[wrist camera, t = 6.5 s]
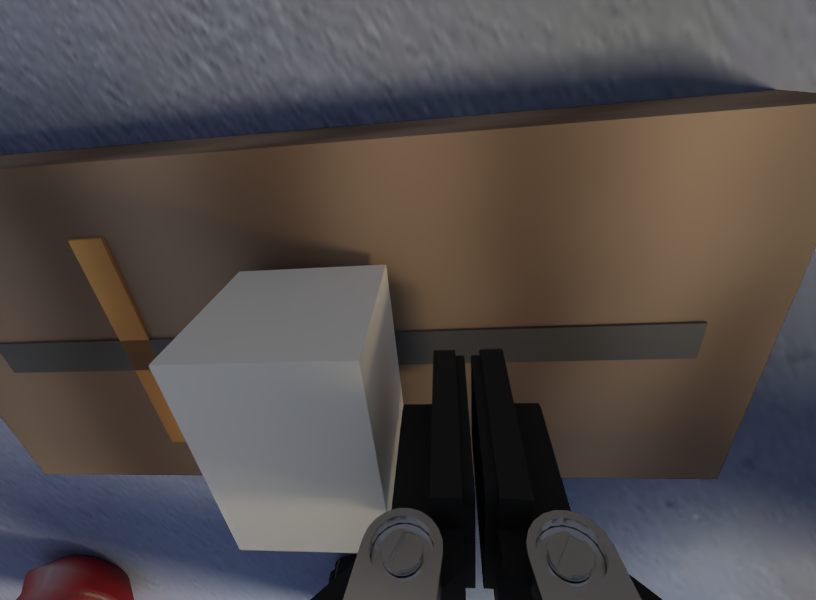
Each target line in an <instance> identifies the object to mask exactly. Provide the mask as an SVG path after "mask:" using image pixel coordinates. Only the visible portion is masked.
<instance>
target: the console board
mask: <svg viewBox="0 0 816 600" xmlns="http://www.w3.org/2000/svg"><path fill="white" fill-rule="evenodd" d="M815 247H816V93H810V92H798V91H787V90H769V91H757V92H745V93H734V94H722V95H710V96H698V97H686V98H674V99H662V100H651V101H639V102H627V103H615V104H603V105H591V106H580V107H568V108H556V109H544V110H532V111H520V112H509V113H497V114H485V115H473V116H461V117H449V118H437V119H426V120H414V121H402V122H390V123H378V124H366V125H355V126H343V127H331V128H319V129H307V130H295V131H284V132H272V133H260V134H248V135H236V136H224V137H212V138H201V139H189V140H177V141H165V142H153V143H141V144H130V145H118V146H106V147H94V148H82V149H70V150H59V151H47V152H35V153H23V154H11V155H0V417H1V418H2V419H3V420H4V422H5V423H6V424H7V426H8V427H9V428H10V429H11V431H12V432H13V433H14V435H15V436H16V437H17V438H18V440H19V441H20V442H21V444H22V445H23V446H24V448H25V449H26V450H27V451H28V453H29V454H30V455H31V457H32V458H33V459H34V460H35V462H36V463H37V464H38V466H39V467H40V468H41V469H42V471H43V472H44V473H45V474H113V475H202V473H201V471H200V469H199V467H198V465H197V463H196V461H195V458H194V456H193V454H192V452H191V450H190V448H189V446H188V444H187V442H186V440H185V438H184V436H183V434H182V432H181V430H180V428H179V426H178V424H177V422H176V420H175V418H174V416H173V414H172V412H171V410H170V408H169V406H168V404H167V402H166V400H165V398H164V396H163V394H162V392H161V390H160V388H159V386H158V384H157V382H156V380H155V378H154V376H153V374H152V372H151V370H150V368H149V366H148V365H149V364H150V363H151V362H152V361H153V360H154V359H155V358H156V357H157V356H158V355H159V354H160V353H161V352H162V351H163V350H164V349H165V348H166V347H167V346H168V345H169V344H170V343H171V342H172V341H173V340H174V339H175V337H176V336H177V335H178V334H179V333H180V332H181V331H182V330H183V329H184V328H185V327H186V326H187V325H188V324H189V323H190V322H191V321H192V320H193V319H194V318H195V317H196V316H197V315H198V314H199V313H200V312H201V311H202V310H203V309H204V308H205V307H206V306H207V304H208V303H209V302H210V301H211V300H212V299H213V298H214V297H215V296H216V295H217V294H218V293H219V292H220V291H221V290H222V289H223V288H224V287H225V286H226V285H227V284H228V283H229V282H230V281H231V280H232V279H233V278H234V277H235V276H236V275H237V274H238V272H240V271H261V270H282V269H303V268H324V267H345V266H366V265H386V267H387V276H388V284H389V292H390V300H391V308H392V316H393V324H394V333H395V341H396V349H397V357H398V365H399V373H400V381H401V390H402V398H403V406H404V404H432V384H433V351H434V350H455V354H456V356H461V355H464V358H465V371H466V384H467V397H468V410H469V423H470V436H471V448H472V419H471V355H479V350H480V349H503V353H504V358H505V363H506V367H507V372H508V377H509V382H510V386H511V391H512V396H513V400H514V403H539V405H540V407H541V409H542V412H543V416H544V419H545V423H546V426H547V430H548V433H549V437H550V440H551V444H552V447H553V451H554V454H555V458H556V461H557V465H558V468H559V472H560V475H561V478H647V479H717V478H718V476H719V473H720V471H721V469H722V466H723V464H724V462H725V459H726V457H727V455H728V452H729V450H730V448H731V445H732V443H733V440H734V438H735V436H736V433H737V431H738V429H739V426H740V424H741V422H742V419H743V417H744V414H745V412H746V410H747V407H748V405H749V403H750V400H751V398H752V396H753V393H754V391H755V389H756V386H757V384H758V381H759V379H760V377H761V374H762V372H763V370H764V367H765V365H766V363H767V360H768V358H769V356H770V353H771V351H772V348H773V346H774V344H775V341H776V339H777V337H778V334H779V332H780V330H781V327H782V325H783V323H784V320H785V318H786V315H787V313H788V311H789V308H790V306H791V304H792V301H793V299H794V297H795V294H796V292H797V290H798V287H799V285H800V282H801V280H802V278H803V275H804V273H805V271H806V268H807V266H808V264H809V261H810V259H811V256H812V254H813V252H814V249H815ZM472 461H473V450H472ZM473 474H474V462H473ZM474 477H475V475H474Z"/></svg>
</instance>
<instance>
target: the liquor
mask: <svg viewBox="0 0 816 600" xmlns="http://www.w3.org/2000/svg"><path fill="white" fill-rule="evenodd" d="M16 600H134V597H133V593H132V589H131V585H130V581H129V578H128V576H127V575H126V574H125V573H124V572H123V571H122V570H121V569H119V568H118V567H117V566H115V565H113V564H111V563H109V562H107V561H105V560H102V559H99V558H95V557H92V556H86V555H72V556H68V557H65V558H62V559H60V560H57V561H54V562H52V563H49V564H46V565H43V566H41V567H38V568H35V569H33V570H31V571H29V572H28V573H27V574H26V576H25V580H24V584H23V588H22V592H21V595H20V596H19V597H18V598H17V599H16Z"/></svg>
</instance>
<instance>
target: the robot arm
mask: <svg viewBox="0 0 816 600" xmlns="http://www.w3.org/2000/svg"><path fill="white" fill-rule="evenodd" d="M471 419H472V448H471V436H470V423H469V410H468V397H467V384H466V371H465V358H464V355H461V356H456V354H455V350H434V351H433V384H432V404H404V406H403V410H402V419H401V428H400V437H399V446H398V455H397V464H396V473H395V482H394V491H393V500H392V509H391V510H390V511H386V512H385V513H383V514H382V515H380V516H379V517H377V518H376V519H375V520H374V521H373V522H372V523H371V524H370V525H369V527H368V528H367V530H366V532H365V534H364V536H363V538H362V541H361V544H360V547H359V550H358V553H357V557H356V560H355V561H354V562H353V563H352V564H351V565H350V566H349V567H347V568H346V569H345V570H344V571H343V572H342V573H341V574H339V575H338V576H337V577H336V578H335V579H334V580H333V581H331V582H330V583H329V584H328V585H327V586H326V587H324V588H323V589H322V590H321V591H320V592H319V593H318V594H316V595H315V596H314V597H313V598H312V599H311V600H466V590H465V588H475V489H474V475H475V487H476V500H477V512H478V525H479V537H480V550H481V562H482V575H483V586H484V588H489V589H494V597H495V600H662V599H661V598H659V597H658V596H657V595H656V594H654V593H653V592H652V591H650V590H649V589H648V588H646V587H645V586H644V585H642V584H641V583H640V582H638V581H637V580H636V579H635V578H633V577H632V576H631V575H629V574H628V572H627V570H626V568H625V566H624V564H623V562H622V560H621V558H620V556H619V554H618V552H617V550H616V548H615V546H614V545H613V543H612V542H611V540H610V539H609V537H608V536H607V534H606V533H605V532H604V531H603V530H602V529H601V528H600V527H599V526H598V525H597V524H596V523H595V522H593V521H592V520H590V519H588V518H586V517H585V516H583V515H581V514H578V513H575V512H571V510H570V507H569V503H568V500H567V496H566V493H565V489H564V486H563V482H562V479H561V475H560V472H559V468H558V465H557V461H556V458H555V454H554V451H553V447H552V444H551V440H550V437H549V433H548V430H547V426H546V423H545V419H544V416H543V412H542V409H541V407H540V405H539V403H514V400H513V396H512V391H511V386H510V382H509V377H508V372H507V367H506V363H505V358H504V353H503V349H480V350H479V355H471ZM472 450H473V461H472ZM473 462H474V474H473Z"/></svg>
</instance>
